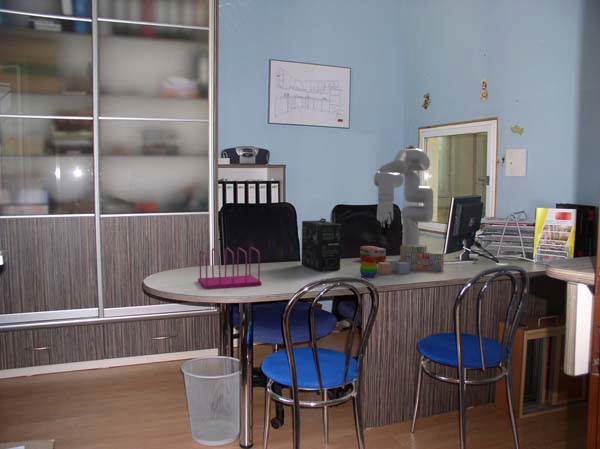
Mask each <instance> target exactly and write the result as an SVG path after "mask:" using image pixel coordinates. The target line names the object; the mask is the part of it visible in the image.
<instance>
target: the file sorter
mask: <svg viewBox="0 0 600 449" xmlns="http://www.w3.org/2000/svg"><path fill="white" fill-rule="evenodd" d="M227 250H228V251H229V252H230V253H231V255H232V276H229V275H228V276H227V261H228V260H227V255H228V251H227ZM252 250H254V251H255V252H256V253H257V256H258V257H257V258H258V260H257V262H258V266H257V268H258V270H257V271H258V272H257V275H258V276H257V277H255V276H254V275H252V274H251V263H252V262H251V258H252V257H251V252H252ZM214 251H215V252H216V253H217V255H218V276H217V277H216V276H215V275H214V274H215V273H214V271H215V270H214ZM224 251H225V253H224V254H225V255H224V256H225V257H224V260H225V261H224V264H225V265H224V276H222V275H221V255H220V251H218V250H217V249H216V248H212V249H211V270H212V271H211V272H212V273H211V275H212V276H211V277H208V255H207V253H206V252H205V251H204V250H202V249H200V250H199V257H198V258H199V277H198V278H197V282H198V283H199V285H200V286H202V288H203V289H205V290H209V289H210V290H211V289H212V290H214V289H223V288H237V287H238V288H239V287H252V286H253V287H256V285H258V286H262V284H263V283H262V281H261V279H260V277H261V276H260V273H261V267H260V266H261V254H260V251H259V250H258V249H256V248H255V247H253V246H250V248H249V252H248V253H249V254H247V252H246V251H245V250H244V249H243V248H241V247H237V251H236V252H237V253H236V257H237V258H236V262H237V263H236V268H237V270H236V271H237V273H236V275H235V256H234V252H233V251H232V250H231V249H230V248H229V247H226V248H225V250H224ZM239 251H241V252H243V253H244V255H245V260H244V261H245V264H244V265H245V266H244V267H245V270H244V271H245V274H244V275H239V256H240V255H239ZM202 254H204V255H205V277H202ZM247 255H249V256H248V257H249V258H247ZM248 259H249V260H248ZM248 262H249V263H248Z"/></svg>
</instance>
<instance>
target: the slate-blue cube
mask: <svg viewBox="0 0 600 449" xmlns="http://www.w3.org/2000/svg"><path fill="white" fill-rule="evenodd" d="M395 272H396V273H399V274H398V275H409V274H408V273H410V268H409V263H407V262H400V261H398V262H396V268H395Z"/></svg>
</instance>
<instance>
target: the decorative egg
mask: <svg viewBox="0 0 600 449" xmlns="http://www.w3.org/2000/svg"><path fill="white" fill-rule="evenodd" d="M377 269H378V263H376V262H375V260H374V259H373V258H372V257H366V258H365V259H364V260H361V263H360V267H359V271H360V272H359V273H360V275H361V277H362V278H366V279H367V278H368V279H373V278H375V277H376V276H377V275H378V274H377Z"/></svg>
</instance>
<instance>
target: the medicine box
mask: <svg viewBox="0 0 600 449" xmlns="http://www.w3.org/2000/svg"><path fill="white" fill-rule="evenodd" d="M386 254H387V252H386V248H382V247H378V246H373V245H363V246H360V254H359V255H360V259H359V260H360V261H363V260H364V259H365V258H366V257H372V258H373V259H374V260H375V262H376V264H378V262H385V260H386V258H387V257H386Z"/></svg>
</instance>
